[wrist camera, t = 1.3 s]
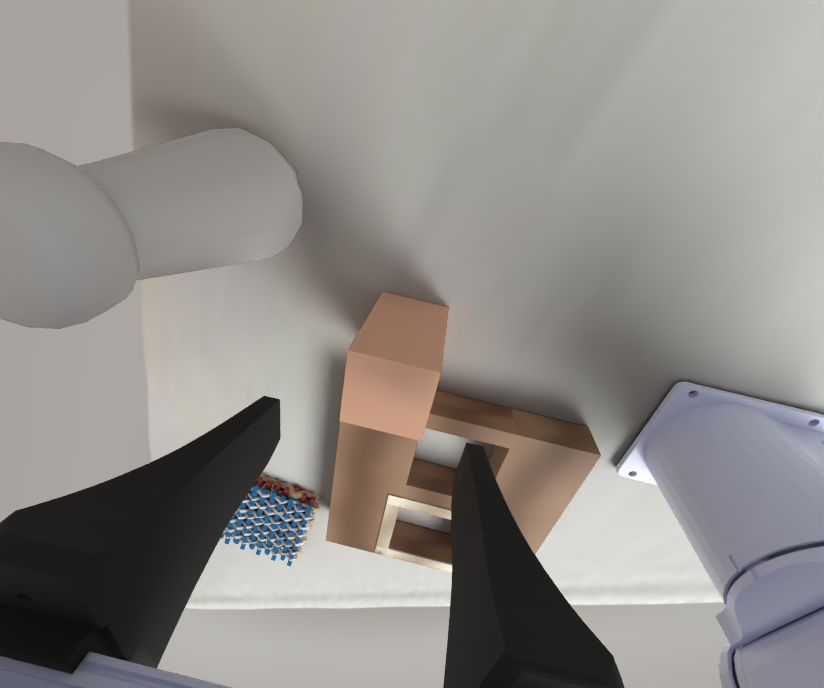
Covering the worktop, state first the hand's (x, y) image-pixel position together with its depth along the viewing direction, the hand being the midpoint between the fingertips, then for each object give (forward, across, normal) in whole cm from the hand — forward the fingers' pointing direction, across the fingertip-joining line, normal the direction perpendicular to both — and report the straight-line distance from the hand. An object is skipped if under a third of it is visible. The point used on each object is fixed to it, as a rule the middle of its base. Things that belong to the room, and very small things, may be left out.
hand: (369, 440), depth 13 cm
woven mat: (+10, +10, +22) cm, 26 cm away
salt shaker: (+10, +9, -6) cm, 14 cm away
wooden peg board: (+10, -5, +12) cm, 16 cm away
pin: (+10, 0, 0) cm, 10 cm away
